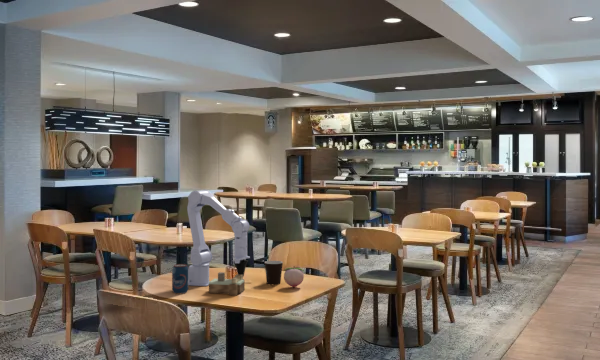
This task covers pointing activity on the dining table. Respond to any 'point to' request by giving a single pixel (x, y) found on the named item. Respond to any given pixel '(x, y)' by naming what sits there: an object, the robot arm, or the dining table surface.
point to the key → (237, 278)
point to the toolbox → (227, 289)
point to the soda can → (180, 278)
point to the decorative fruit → (293, 276)
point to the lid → (224, 280)
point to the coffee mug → (273, 272)
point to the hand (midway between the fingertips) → (241, 276)
